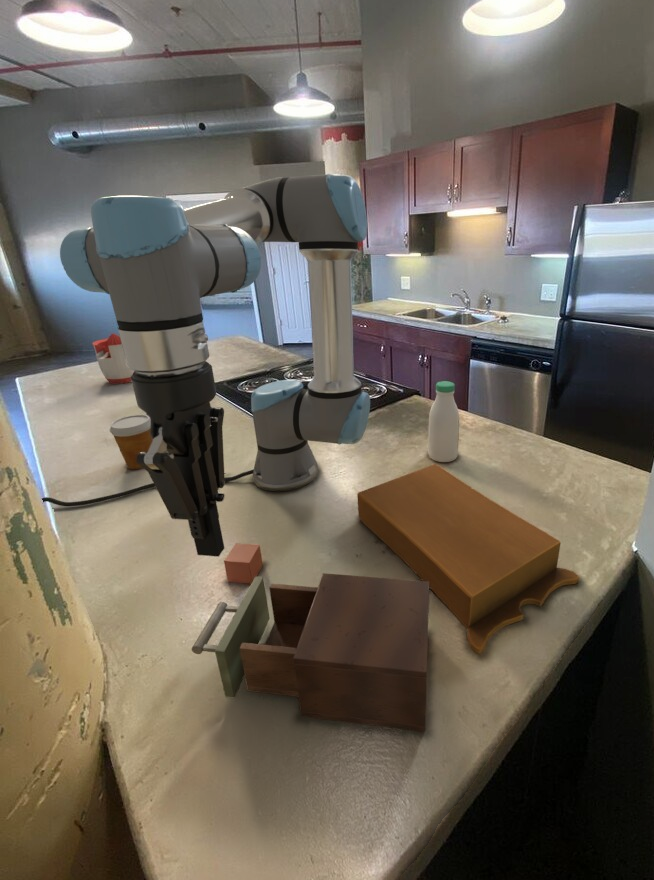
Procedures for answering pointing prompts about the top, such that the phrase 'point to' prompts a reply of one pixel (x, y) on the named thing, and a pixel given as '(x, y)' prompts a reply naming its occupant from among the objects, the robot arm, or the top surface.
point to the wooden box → (465, 548)
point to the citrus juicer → (112, 360)
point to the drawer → (240, 642)
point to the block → (243, 563)
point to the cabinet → (365, 652)
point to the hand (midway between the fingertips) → (211, 551)
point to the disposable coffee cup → (132, 437)
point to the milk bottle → (443, 424)
